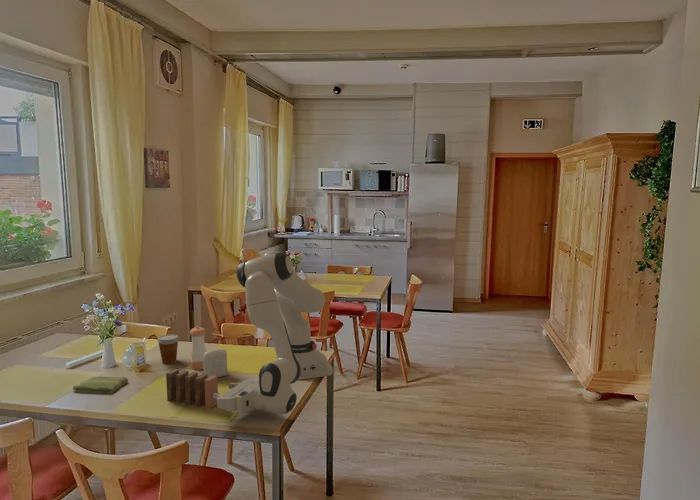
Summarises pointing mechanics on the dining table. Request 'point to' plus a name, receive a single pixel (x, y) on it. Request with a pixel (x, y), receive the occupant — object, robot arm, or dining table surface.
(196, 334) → the pepper shaker
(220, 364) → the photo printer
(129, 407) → the dining table surface
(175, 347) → the disposable coffee cup
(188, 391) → the walnut domino
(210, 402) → the terracotta domino
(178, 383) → the walnut domino
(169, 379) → the walnut domino
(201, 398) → the walnut domino
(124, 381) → the washcloth
